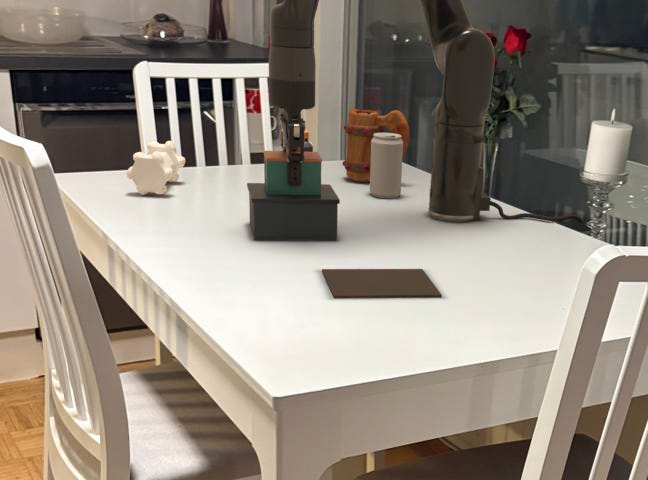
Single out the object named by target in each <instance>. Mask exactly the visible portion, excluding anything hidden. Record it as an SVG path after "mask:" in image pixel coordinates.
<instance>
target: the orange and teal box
mask: <svg viewBox="0 0 648 480" xmlns="http://www.w3.org/2000/svg"><path fill="white" fill-rule="evenodd" d="M262 152H263V153H262V154H263V170H264V171H263V172H264V176H263V177H264V179H263V180H264V183H265V189H266V192H267V194H268V195H321V184H322V162H323V158H322V157H321V156H320V154H319V153H318V152H317V151H313V152H304V161H302V163H301V185H300V186H289V185H288V163H287V160H286V158H287V151H282V150H263V151H262ZM292 153H297V154H299V152H297V151H292Z"/></svg>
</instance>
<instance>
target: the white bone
mask: <svg viewBox="0 0 648 480" xmlns="http://www.w3.org/2000/svg"><path fill="white" fill-rule="evenodd" d="M146 148H147V150H148V152H147V154H146V153H145V152H142V151H138V152H135V153H133V155H132V159H133V161H134V162H133V165H132V166H129V167H128V169H127V170H126V177H127V178H128V179H129V180H132V181H133V183H134V185H135V186H136V191H137V192H138V193H139V194H140V195H141V196H145V195H147V194H148V193H155V194H156V195H164V194H166V193H167V191H168V187H167V186H166V184H167V182H172V183H174V182H177V181H179V179H180V175H179V173H178V172H179V170H180V169H182V168H183V167H184V166H185V164H186V157H184V156H183V155H180V154H179V152H178V150H177V146H176V144H175V143H174V142H173V141H172V140H167V141H166V142H165V143H159V142H158V141H154V140H153V141H152V140H151V141H149V142H147V145H146Z"/></svg>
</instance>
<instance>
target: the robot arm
mask: <svg viewBox="0 0 648 480" xmlns="http://www.w3.org/2000/svg"><path fill="white" fill-rule="evenodd" d="M419 2H420V5H421V9H422V11H423V14H424V18H425V23H426V28H427V32H428V37H429V42H430V45H431V51H432V55H433V59H434V62H435V64H436V67H437V68H438V70H439V72H440V73H441V74H442V75H443V83H442V94H441V97H440V100H439V102H438V103H437V104H436V106H435V110H434V114H435V115H434V126H433V142H432V143H433V144H432V157H431V158H432V159H431V170H430V171H431V173H430V186H429V187H430V188H429V192H428V193H429V195H428V197H429V201H428V210H427V211H428V212H427V214H428V216H429V217H431V218H433V219H436V220H440V221H444V222H445V221H446V222H454V223H455V222H456V223H457V222H459V223H461V222H471V221H480V216H481V212H490V210H491V207H494V208H495V209H496V210H497V211H498V214H499V216H500V217H501V218H502V219H504V220H518V219H523V218H526V219H527V218H528V219H536V220H541V221H547V222H563V221H566V220H571V219H574V220H576V221H577V222H578V223H581V224H585V221H584V220H583V218H582V217H581V216H579V215H577V214H574V213H570V214H566V215H561V216H548V215H543V214H536V213H530V212H522V213H517V214H513V215H509V214H508V215H507V214H505V213H504V210H503V208H502V206H501V205H500V204H499V203H497V202H495V201H492V200H491V197H490V196H489V195H488V194H486V192H484V191H483V182H484V171H485V169H484V168H483V167H482V158H483V157H482V156H483V147H484V146H483V145H484V144H483V143H484V133H485V122H486V115H487V113H488V110H489V108H490V104H491V98H492V92H493V91H492V90H493V84H494V83H493V82H494V74H495V64H496V63H495V62H496V56H495V54H496V53H495V48H494V44H493V42H492V40H491V38H490V37H489V36H488V35H487V34H486V33H485V32H483V31H482V30H480V29H476V28H474V27H473V25H472V23H471V21H470V18H469V16H468V13H467V10H466V8H465V7H466V6H465V4H464V2H463V0H419ZM319 3H320V0H284V1H282V3H277V4H275V5H273V6H272V8H271V9H270V11H269V12H270V13H269V53H268V103H269V105H270V106H271V107H273V108H276V109H283V111H280V114H279V115H280V116H279V118H278V119H279V121H278V122H279V124H278V125H279V130H280V131H279V133H280V134H279V138H280V147H281V151H287V158H286V160H287V163H288V185H289V186H300V185H301V163H302V161H304V146H305V138H304V131H305V130H306V120H304V118H303V117H302V111H303V110H312V109H314V108H315V107H316V68H317V67H316V66H317V65H316V54H315V17H316V14H317V10H318V7H319ZM292 151H297V152H298V151H299V154H297V153H292Z"/></svg>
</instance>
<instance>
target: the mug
mask: <svg viewBox="0 0 648 480" xmlns="http://www.w3.org/2000/svg"><path fill="white" fill-rule="evenodd" d="M383 127H385V128H386V129H387V130H389V131H390V133H394V134H399V135H401V136H402V137H401V139H402V141H403V156H402V158H403V157H404V156H405V154H406V153H407V150H408V148H409V147H408V146H409V143H410V136H411V133H410V126H409V124H408V121H407V119H406V116H404V114H403V112H402V111H400V110H396V109H395V110H392V111H390V112H389V113H387V114H385V115H380V113H379V112H378V110H377V111H376V110H371V109H363V110H361V109H359V108H352V109H349V110H348V120H347V123H346V124H345V125H343V130H344V131H345V133H346V136H347V138H346V158H345V159H344V160H343V161H342V166H343V167H344V169H345V171H346V175H345V176H346V177H347V178H348V179H350V180H351V181H354V182H357V183H358V182H359V183H367V182H369V183H370V167H371V140H372V139H373V137H374V136H373V134H374V133H385V130H384V128H383Z"/></svg>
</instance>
